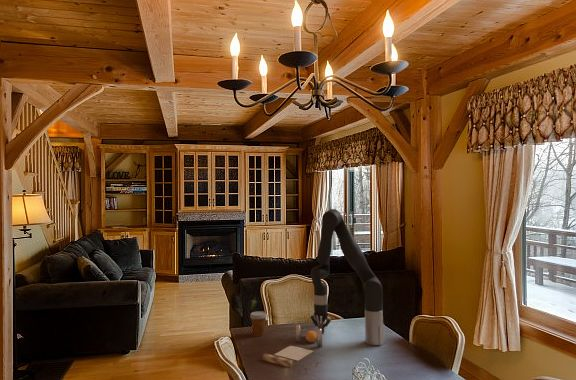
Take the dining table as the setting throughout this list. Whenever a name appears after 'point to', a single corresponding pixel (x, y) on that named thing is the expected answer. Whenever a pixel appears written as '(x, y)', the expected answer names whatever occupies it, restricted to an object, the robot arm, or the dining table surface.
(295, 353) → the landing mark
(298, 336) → the far post
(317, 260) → the robot arm
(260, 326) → the disposable coffee cup
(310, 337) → the ball
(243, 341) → the dining table surface
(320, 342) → the near post
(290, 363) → the stopper wall
